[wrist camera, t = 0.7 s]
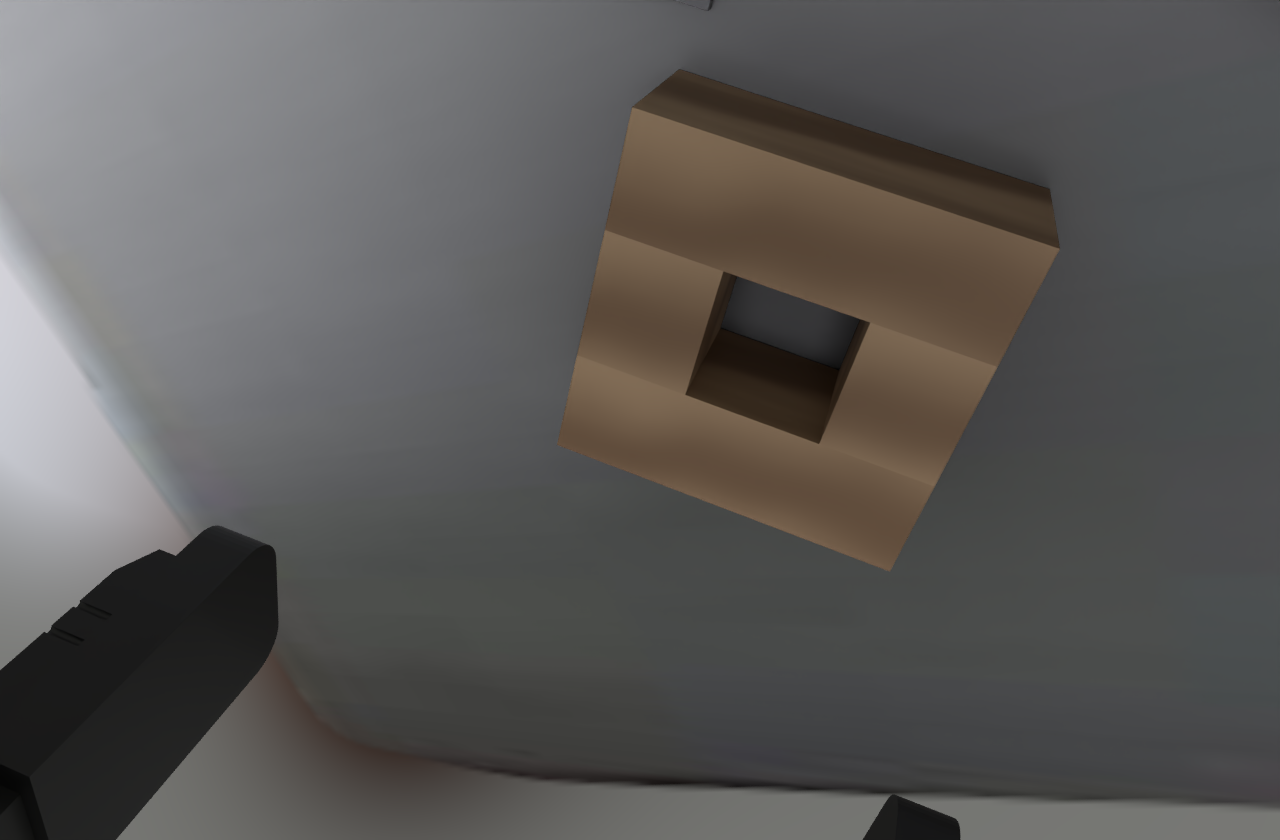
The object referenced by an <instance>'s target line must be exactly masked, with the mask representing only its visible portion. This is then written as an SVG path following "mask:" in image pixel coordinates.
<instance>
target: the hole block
mask: <svg viewBox="0 0 1280 840" xmlns="http://www.w3.org/2000/svg"><path fill="white" fill-rule="evenodd" d="M1059 250H1060V247H1059V241H1058V235H1057V229H1056V223H1055V217H1054V212H1053V206H1052V200H1051V194H1050V189H1047V188H1044V187H1041V186H1038V185H1035V184H1031V183H1028V182H1025V181H1022V180H1019V179H1016V178H1013V177H1010V176H1007V175H1004V174H1001V173H998V172H994V171H991V170H988V169H985V168H982V167H979V166H976V165H973V164H970V163H967V162H964V161H961V160H958V159H954V158H951V157H948V156H945V155H942V154H939V153H936V152H933V151H930V150H927V149H924V148H921V147H917V146H914V145H911V144H908V143H905V142H902V141H899V140H896V139H893V138H890V137H887V136H884V135H880V134H877V133H874V132H871V131H868V130H865V129H862V128H859V127H856V126H853V125H850V124H847V123H843V122H840V121H837V120H834V119H831V118H828V117H825V116H822V115H819V114H816V113H813V112H810V111H806V110H803V109H800V108H797V107H794V106H791V105H788V104H785V103H782V102H779V101H776V100H773V99H770V98H766V97H763V96H760V95H757V94H754V93H751V92H748V91H745V90H742V89H739V88H736V87H733V86H729V85H726V84H723V83H720V82H717V81H714V80H711V79H708V78H705V77H702V76H699V75H696V74H692V73H689V72H686V71H683V70H680V69H679V70H678V71H676V72H675V73H674V74H673V75H672V76H670V77H669V78H668V79H667V80H665V81H664V82H663V83H662V84H660V85H659V86H658V87H657V88H655V89H654V90H653V91H652V92H650V93H649V94H648V95H647V96H645V97H644V98H643V99H642V100H640V101H639V102H638V103H637V104H635V105H634V106H633V107H632V110H631V115H630V119H629V124H628V128H627V133H626V137H625V142H624V146H623V151H622V155H621V160H620V164H619V169H618V173H617V178H616V182H615V187H614V191H613V196H612V200H611V205H610V209H609V214H608V218H607V223H606V227H605V232H604V236H603V241H602V245H601V250H600V254H599V259H598V263H597V268H596V272H595V277H594V281H593V286H592V290H591V295H590V299H589V304H588V308H587V313H586V317H585V322H584V326H583V331H582V335H581V340H580V344H579V349H578V353H577V358H576V362H575V367H574V371H573V376H572V380H571V385H570V389H569V394H568V398H567V403H566V407H565V412H564V416H563V421H562V425H561V430H560V434H559V439H558V443H557V445H559V446H562V447H564V448H567V449H569V450H572V451H575V452H577V453H580V454H583V455H585V456H588V457H590V458H593V459H596V460H598V461H601V462H604V463H606V464H609V465H611V466H614V467H617V468H619V469H622V470H625V471H627V472H630V473H632V474H635V475H638V476H640V477H643V478H646V479H648V480H651V481H653V482H656V483H659V484H661V485H664V486H667V487H669V488H672V489H675V490H677V491H680V492H682V493H685V494H688V495H690V496H693V497H696V498H698V499H701V500H703V501H706V502H709V503H711V504H714V505H717V506H719V507H722V508H724V509H727V510H730V511H732V512H735V513H738V514H740V515H743V516H745V517H748V518H751V519H753V520H756V521H759V522H761V523H764V524H766V525H769V526H772V527H774V528H777V529H780V530H782V531H785V532H788V533H790V534H793V535H795V536H798V537H801V538H803V539H806V540H809V541H811V542H814V543H816V544H819V545H822V546H824V547H827V548H830V549H832V550H835V551H837V552H840V553H843V554H845V555H848V556H851V557H853V558H856V559H858V560H861V561H864V562H866V563H869V564H872V565H874V566H877V567H879V568H882V569H885V570H887V571H890V570H891V568H892V566H893V564H894V563H895V561H896V559H897V557H898V555H899V553H900V551H901V549H902V547H903V545H904V544H905V542H906V540H907V538H908V536H909V534H910V532H911V530H912V528H913V527H914V525H915V523H916V521H917V519H918V517H919V515H920V513H921V511H922V509H923V508H924V506H925V504H926V502H927V500H928V498H929V496H930V494H931V492H932V490H933V489H934V487H935V485H936V483H937V481H938V479H939V477H940V475H941V473H942V471H943V470H944V468H945V466H946V464H947V462H948V460H949V458H950V456H951V454H952V453H953V451H954V449H955V447H956V445H957V443H958V441H959V439H960V437H961V435H962V434H963V432H964V430H965V428H966V426H967V424H968V422H969V420H970V418H971V416H972V415H973V413H974V411H975V409H976V407H977V405H978V403H979V401H980V399H981V398H982V396H983V394H984V392H985V390H986V388H987V386H988V384H989V382H990V380H991V379H992V377H993V375H994V373H995V371H996V369H997V367H998V365H999V363H1000V361H1001V360H1002V358H1003V356H1004V354H1005V352H1006V350H1007V348H1008V346H1009V344H1010V343H1011V341H1012V339H1013V337H1014V335H1015V333H1016V331H1017V329H1018V327H1019V325H1020V324H1021V322H1022V320H1023V318H1024V316H1025V314H1026V312H1027V310H1028V308H1029V306H1030V305H1031V303H1032V301H1033V299H1034V297H1035V295H1036V293H1037V291H1038V289H1039V287H1040V286H1041V284H1042V282H1043V280H1044V278H1045V276H1046V274H1047V272H1048V270H1049V269H1050V267H1051V265H1052V263H1053V261H1054V259H1055V257H1056V255H1057V253H1058V251H1059ZM737 276H738V277H741V278H744V279H747V280H750V281H752V282H755V283H758V284H761V285H764V286H767V287H770V288H772V289H775V290H778V291H781V292H784V293H787V294H790V295H792V296H795V297H798V298H801V299H804V300H807V301H810V302H813V303H815V304H818V305H821V306H824V307H827V308H830V309H833V310H835V311H838V312H841V313H844V314H847V315H850V316H853V317H855V318H858V319H860V321H859V324H858V326H857V328H856V331H855V333H854V336H853V338H852V341H851V343H850V345H849V348H848V350H847V353H846V355H845V357H844V360H843V362H842V365H841V367H840V370H836V369H833V368H831V367H828V366H825V365H822V364H819V363H817V362H814V361H811V360H808V359H805V358H803V357H800V356H797V355H794V354H791V353H789V352H786V351H783V350H780V349H777V348H775V347H772V346H769V345H766V344H763V343H761V342H758V341H755V340H752V339H749V338H747V337H744V336H741V335H738V334H735V333H733V332H730V331H727V330H724V329H721V325H722V322H723V318H724V315H725V312H726V309H727V306H728V303H729V300H730V296H731V293H732V290H733V287H734V284H735V281H736V278H737Z"/></svg>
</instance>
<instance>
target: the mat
mask: <svg viewBox="0 0 1280 840" xmlns="http://www.w3.org/2000/svg"><path fill="white" fill-rule="evenodd" d="M675 1H678V2H681V3H684V4H687V5H690V6H694V7H697V8H700V9H703V10H706V11H708V10H710V9H711V5H712V1H713V0H675Z"/></svg>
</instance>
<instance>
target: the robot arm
mask: <svg viewBox="0 0 1280 840" xmlns="http://www.w3.org/2000/svg"><path fill="white" fill-rule="evenodd" d="M277 632H278V597H277V570H276V553H275V551H274V549H273V547H271V546H270V545H267V544H265V543H262V542H260V541H257V540H255V539H252V538H250V537H247V536H244V535H242V534H239V533H237V532H234V531H232V530H229V529H227V528H224V527H222V526H212V527H209V528H207V529H206V530H204V531H203V532H202V533H200V534H199V535H198V536H197V537H196V538H195V539H194V540H193V541H192V542H190V543H189V544H188V545H187V546H186V547H185V548H184V549H183V550H182V551H181V552H180V553H179V554H177V555H176V556H175V555H172V554H170V553H167V552H165V551H162V550H160V549H159V550H157V551H155V552H153V553H151V554H149V555H147V556H144V557H142V558H140V559H138V560H136V561H134V562H132V563H129V564H127V565H125V566H123V567H121V568H119V569H117V570H115V571H114V572H112V573H111V574H110V575H109V576H108V577H107V578H105V579H104V580H103V581H102V582H101V583H100V584H99V585H97V586H96V587H95V588H94V589H93V590H92V591H91V592H90V593H88V594H87V595H86V596H85V597H84V598H83V599H81V600H80V604H79V605H78V606H77V607H76V608H75V607H72V608H71V609H70V610H69V611H68V612H67V613H65V614H64V615H63V616H62V617H61V618H60V619H58V621H56V622H55V623H54V624H53V625H52V627H51V630H50V631H49V632H48V633H45V632H44V633H43V634H41V635H40V636H39V637H38V638H37V639H36V640H35V641H33V642H32V643H31V644H30V645H29V646H28V647H27V648H25V649H24V650H23V651H22V652H21V653H20V654H18V655H17V656H16V657H15V658H14V659H13V660H12V661H10V662H9V663H8V664H7V665H6V666H5V667H4V668H2V669H1V670H0V840H116V839H117V838H118V836H119V835H120V834H121V833H122V832H123V831H124V829H125V828H126V827H127V826H128V825H129V824H130V822H131V821H132V820H133V819H134V818H135V816H136V815H137V814H138V813H139V812H140V810H141V809H142V808H143V807H144V806H145V805H146V804H147V802H148V801H149V800H150V799H151V798H152V796H153V795H154V794H155V793H156V792H157V791H158V789H159V788H160V787H161V786H162V785H163V783H164V782H165V781H166V780H167V779H168V777H169V776H170V775H171V774H172V773H173V772H174V771H175V769H176V768H177V767H178V766H179V765H180V763H181V762H182V761H183V760H184V759H185V758H186V756H187V755H188V754H189V753H190V752H191V750H192V749H193V748H194V747H195V746H196V744H197V743H198V742H199V741H200V740H201V739H202V737H203V736H204V735H205V734H206V733H207V731H208V730H209V729H210V728H211V727H212V726H213V724H214V723H215V722H216V721H217V720H218V719H219V717H220V716H221V715H222V714H223V713H224V711H225V710H226V709H227V708H228V707H229V706H230V704H231V703H232V702H233V701H234V700H235V699H236V697H237V696H238V695H239V694H240V692H241V691H242V690H243V689H244V688H245V687H246V686H247V684H248V683H249V682H250V680H252V679H253V677H254V676H255V675H256V674H257V673H258V671H259V670H260V668H261V667H262V666H263V664H264V663H265V661H266V659H267V658H268V656H269V654H270V652H271V650H272V647H273V645H274V642H275V639H276V636H277ZM863 840H960V827H959V823H958V821H957V820H956V819H955V818H953V817H950V816H948V815H945V814H943V813H940V812H937V811H935V810H932V809H930V808H927V807H925V806H922V805H920V804H917V803H915V802H912V801H910V800H907V799H904V798H902V797H899V796H897V795H891V796H890V797H889V798H888V800H887V801H886V803H885V804H884V806H883V808H882V809H881V811H880V812H879V814H878V816H877V817H876V819H875V821H874V822H873V824H872V825H871V827H870V829H869V830H868V832H867V834H866V835H865V837H864V838H863Z"/></svg>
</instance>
